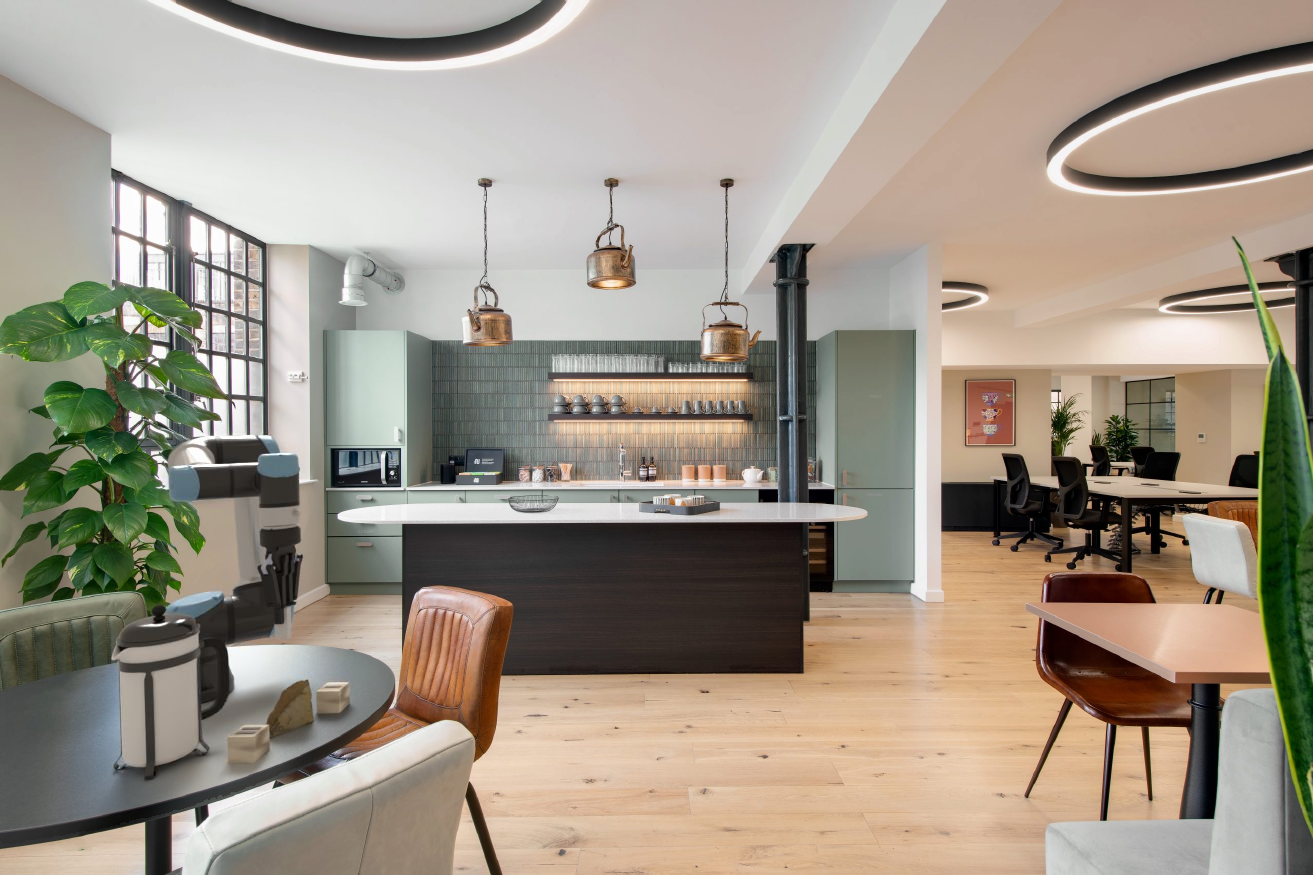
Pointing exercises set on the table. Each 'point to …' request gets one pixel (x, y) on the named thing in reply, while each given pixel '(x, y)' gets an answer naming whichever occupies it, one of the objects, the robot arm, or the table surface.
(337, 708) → the birch block
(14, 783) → the table surface
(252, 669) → the table surface
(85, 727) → the table surface
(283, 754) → the table surface
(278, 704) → the rock
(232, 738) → the birch block
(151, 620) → the coffee press
